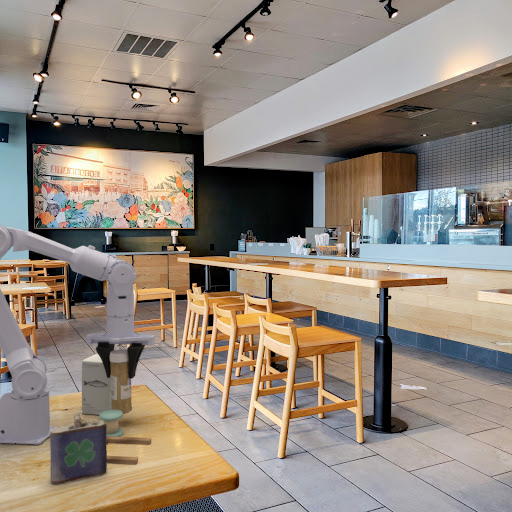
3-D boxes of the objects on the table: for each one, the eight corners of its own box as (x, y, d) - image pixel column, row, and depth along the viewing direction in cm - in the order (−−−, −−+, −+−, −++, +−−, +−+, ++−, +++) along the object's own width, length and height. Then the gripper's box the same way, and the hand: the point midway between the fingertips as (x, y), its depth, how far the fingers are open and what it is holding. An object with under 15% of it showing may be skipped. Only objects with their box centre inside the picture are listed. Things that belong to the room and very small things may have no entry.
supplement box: (80, 414, 115) (80, 360, 114) (97, 403, 122) (97, 352, 121) (110, 417, 113) (109, 362, 112) (125, 406, 120) (125, 354, 120)
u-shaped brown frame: (84, 462, 91) (84, 457, 91) (104, 440, 101) (104, 436, 101) (135, 464, 90) (135, 460, 90) (151, 442, 100) (151, 438, 100)
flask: (51, 486, 82) (50, 423, 82) (49, 478, 85) (49, 417, 85) (108, 474, 87) (107, 414, 86) (105, 467, 89) (104, 408, 89)
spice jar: (132, 414, 108) (130, 353, 106) (110, 416, 106) (108, 354, 105) (132, 406, 112) (131, 347, 111) (111, 408, 111) (109, 349, 110)
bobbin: (96, 438, 101) (95, 417, 101) (104, 429, 106) (104, 409, 106) (118, 439, 101) (117, 418, 101) (125, 430, 105) (125, 409, 105)
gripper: (80, 317, 105) (81, 381, 105) (147, 319, 103) (148, 383, 104) (93, 312, 112) (94, 371, 112) (157, 313, 111) (157, 373, 111)
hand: (121, 376), depth 109 cm, fingers closed on spice jar, 4 cm apart
